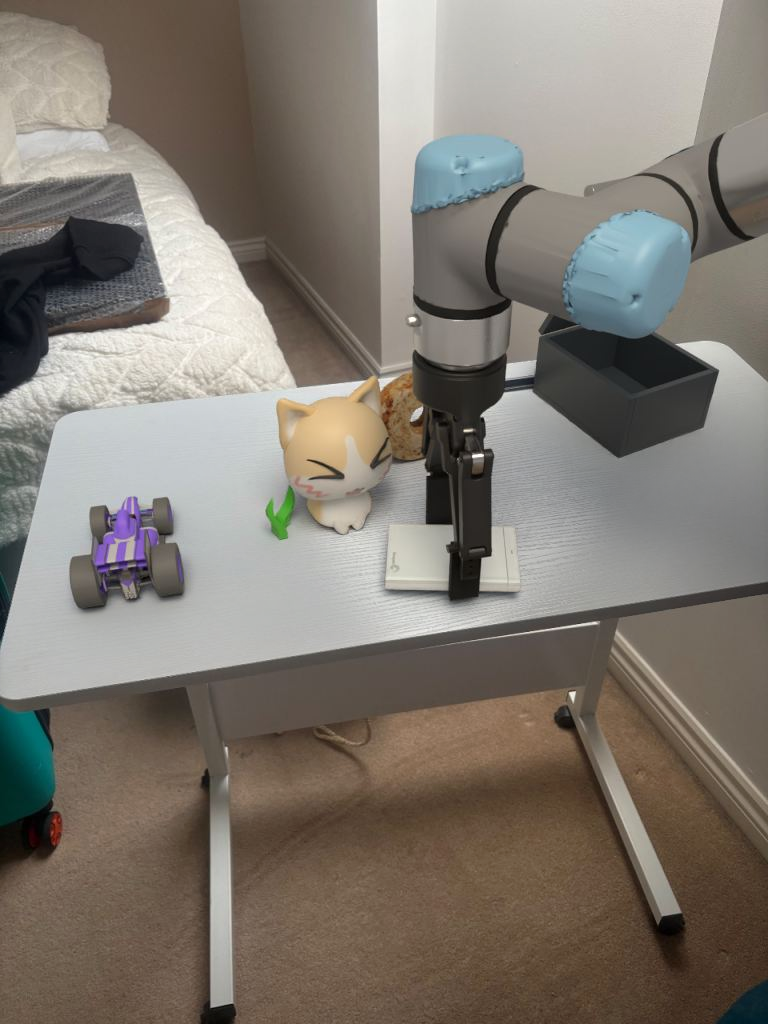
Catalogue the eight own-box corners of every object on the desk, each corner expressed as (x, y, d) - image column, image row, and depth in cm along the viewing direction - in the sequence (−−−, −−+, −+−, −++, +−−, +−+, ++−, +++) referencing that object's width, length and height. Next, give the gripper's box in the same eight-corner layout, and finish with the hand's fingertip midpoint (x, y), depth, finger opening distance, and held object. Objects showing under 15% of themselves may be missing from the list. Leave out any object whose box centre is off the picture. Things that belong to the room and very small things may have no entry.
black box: (703, 427, 99) (719, 370, 94) (618, 458, 95) (630, 399, 90) (612, 366, 111) (622, 312, 106) (532, 391, 106) (538, 336, 101)
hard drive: (384, 578, 76) (521, 581, 75) (388, 521, 82) (514, 523, 82) (385, 591, 77) (519, 594, 76) (389, 534, 83) (513, 535, 83)
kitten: (285, 567, 81) (270, 440, 72) (253, 509, 88) (236, 386, 79) (421, 524, 86) (424, 400, 77) (380, 472, 93) (378, 352, 84)
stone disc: (383, 473, 93) (382, 396, 87) (369, 456, 95) (367, 380, 89) (463, 449, 96) (468, 374, 90) (448, 433, 99) (452, 359, 93)
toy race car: (182, 505, 89) (171, 455, 85) (185, 603, 78) (173, 551, 73) (90, 517, 87) (74, 467, 83) (79, 619, 76) (61, 567, 72)
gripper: (388, 296, 73) (391, 496, 88) (445, 429, 57) (438, 650, 71) (470, 288, 74) (461, 488, 88) (550, 417, 58) (522, 638, 72)
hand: (450, 560), depth 80 cm, fingers closed on hard drive, 9 cm apart
